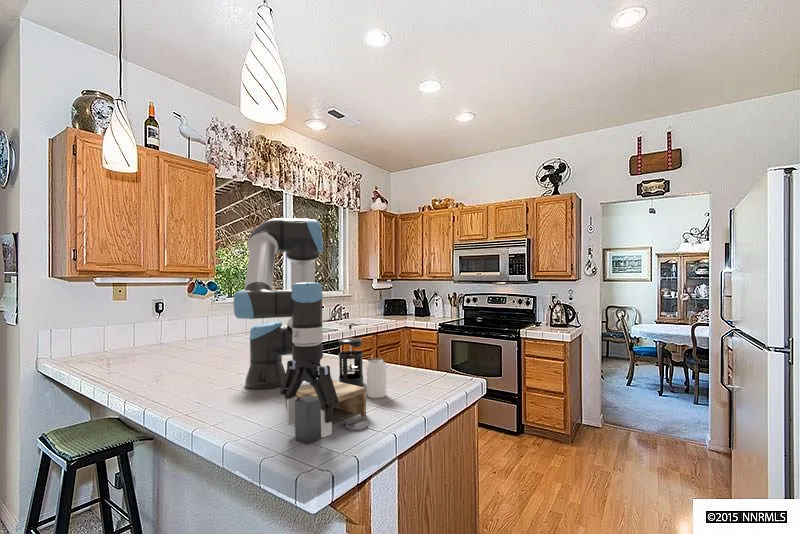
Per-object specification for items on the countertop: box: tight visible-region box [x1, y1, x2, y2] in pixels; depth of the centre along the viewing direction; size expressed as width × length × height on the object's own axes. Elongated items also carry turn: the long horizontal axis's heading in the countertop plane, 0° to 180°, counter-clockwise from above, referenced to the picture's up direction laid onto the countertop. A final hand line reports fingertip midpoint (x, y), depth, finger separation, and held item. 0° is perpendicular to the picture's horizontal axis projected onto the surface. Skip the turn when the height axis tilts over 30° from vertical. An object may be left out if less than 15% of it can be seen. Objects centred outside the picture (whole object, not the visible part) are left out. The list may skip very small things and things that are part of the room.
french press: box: [338, 322, 365, 387], centre depth 152 cm, size 12×9×23 cm
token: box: [345, 418, 369, 432], centre depth 110 cm, size 6×6×1 cm
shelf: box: [293, 379, 367, 417], centre depth 118 cm, size 16×14×8 cm
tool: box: [294, 396, 362, 446], centre depth 108 cm, size 4×20×10 cm, turn 142°
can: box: [366, 358, 387, 399], centre depth 137 cm, size 6×6×12 cm
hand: (308, 429), depth 101 cm, fingers open, 13 cm apart
